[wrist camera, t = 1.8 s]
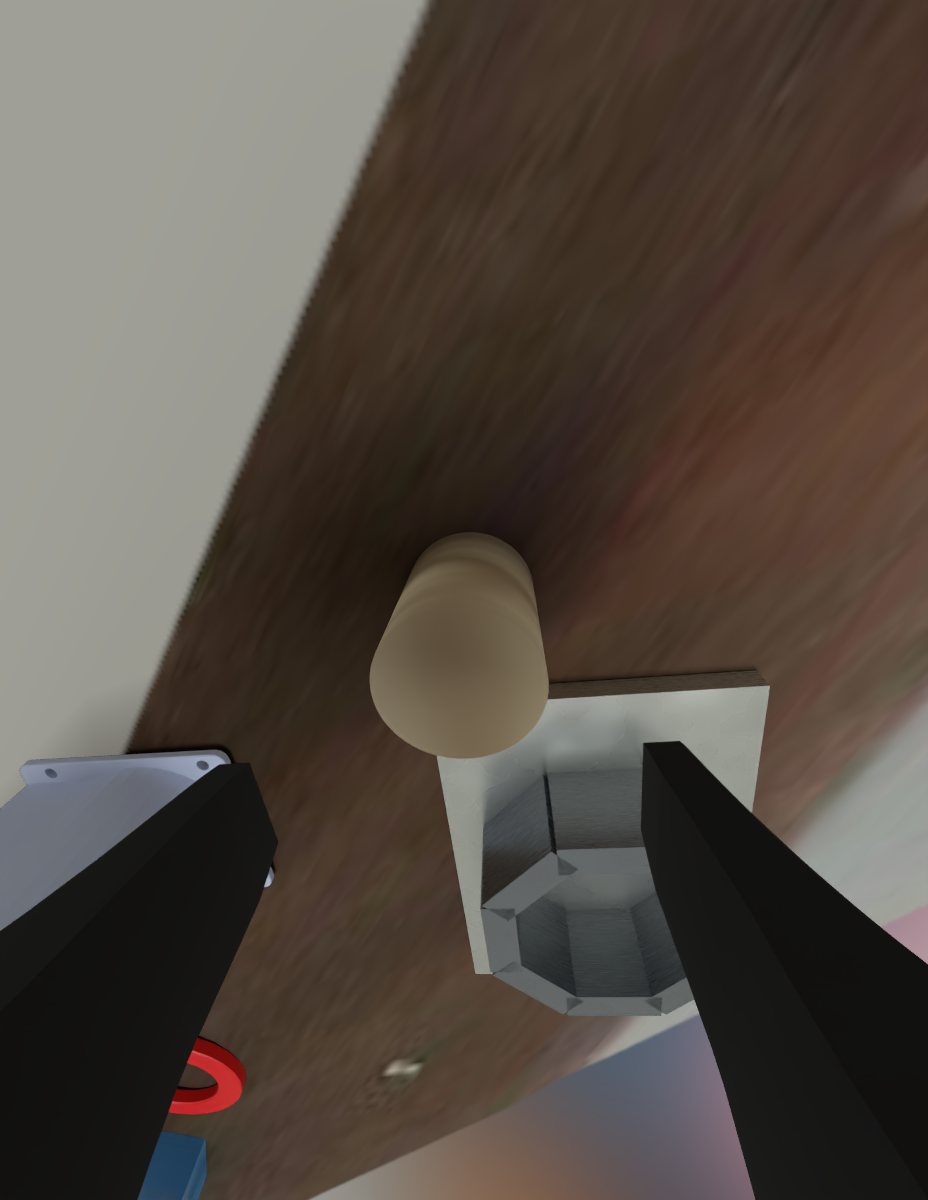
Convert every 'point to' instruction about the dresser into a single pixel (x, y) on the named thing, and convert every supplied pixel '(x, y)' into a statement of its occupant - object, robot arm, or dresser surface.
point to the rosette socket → (589, 837)
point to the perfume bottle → (175, 1169)
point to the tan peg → (463, 651)
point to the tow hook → (221, 1069)
